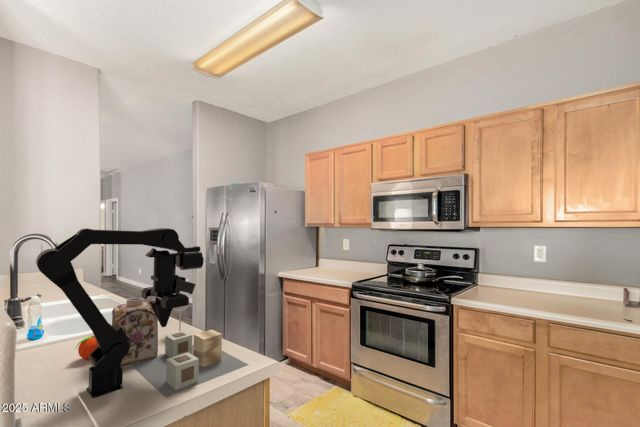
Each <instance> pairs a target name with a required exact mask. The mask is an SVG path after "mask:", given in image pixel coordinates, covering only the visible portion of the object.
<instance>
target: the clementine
mask: <svg viewBox="0 0 640 427" xmlns="http://www.w3.org/2000/svg"><path fill="white" fill-rule="evenodd" d="M97 347H98V344H97V342H96V339H95V337H94V335H90V336H88V337H85V338H83V339H82V340H80V341H79V343H77V345H76V347H75V349H77V351H78V355H79V357H81V358H82V359H83V360H86V361H87V360H89V361H90V359H89V355H90V354H91V353H92V352H93V351H94V350H95V349H96V348H97Z"/></svg>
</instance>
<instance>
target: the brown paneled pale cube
mask: <svg viewBox="0 0 640 427" xmlns="http://www.w3.org/2000/svg"><path fill="white" fill-rule="evenodd" d="M164 338H165V339H164V354H166V355H167V356H168V357H170V358H172V357H175V356H178V355H181V354H185V353H188V352H189V353H190V354H192V345H193V335H192V333H189V332H188V331H185V330H181V331H180V332H179V331H177V332H173V333H169V334H166V335H165V337H164Z"/></svg>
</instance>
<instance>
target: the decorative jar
mask: <svg viewBox="0 0 640 427" xmlns="http://www.w3.org/2000/svg"><path fill="white" fill-rule="evenodd" d="M141 297H142V296H138V297H131V298H127V299H126V303H123V304H119V305H116V306H114V307H113V308H112V312H111V318H112V319H111V325H112V326H113V325H114V324H115V323H116V322H117V323H118V324H119V325H120V326H121V327H122V328H123V331H124V333H125V334H126V335H127V336H128V337H129V338H130V339H131V340H129V341H128V342H129V344H130V349H129V352H128V354H127V355H126V356H125V357H124V358H123V360H122V362H121V366H123V365H126V364H131V363H135V362H138V361H141V360H145V359H149V358H153V357H157V356H158V355H159V354H158V352H159V321H158V319H157V317H156V315H155V313H154V311H153V309H152V307H151V305H150V304H149V302H150V301H149V300H147V301H145V299H144V298H141Z"/></svg>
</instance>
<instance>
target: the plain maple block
mask: <svg viewBox="0 0 640 427" xmlns="http://www.w3.org/2000/svg"><path fill="white" fill-rule="evenodd" d="M222 341H223V334H222V333H221V332H218V331H216V330H213V329H209V330H205V331H202V332H201V331H200V332H197V333H194V334H193V345H194V353H193V356H195V357H197V358H198V359H199V365H201V366H202V367H204V366H207V365H210V364H212V363H215V362H218V361H221V356H222V351H223V350H222V347H223V346H222V344H223V343H222Z"/></svg>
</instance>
